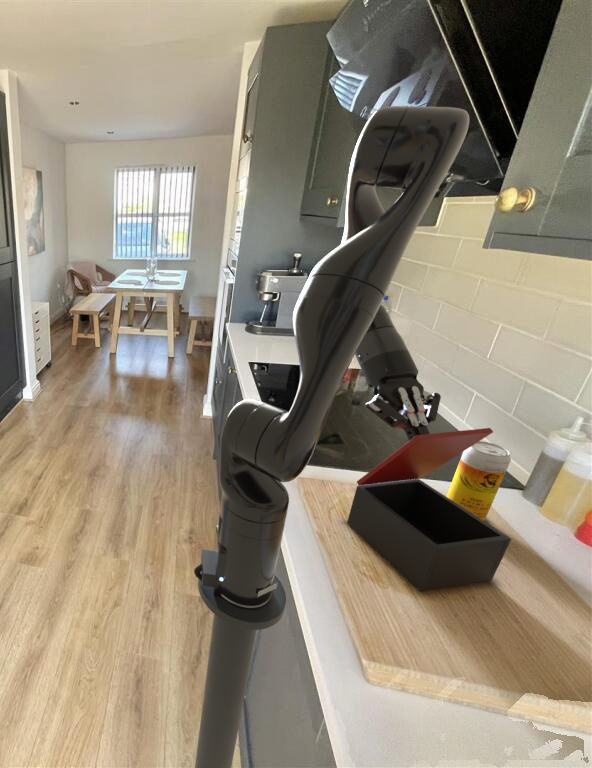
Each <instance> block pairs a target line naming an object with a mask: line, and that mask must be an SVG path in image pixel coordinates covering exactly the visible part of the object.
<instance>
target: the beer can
mask: <svg viewBox="0 0 592 768" xmlns="http://www.w3.org/2000/svg"><path fill="white" fill-rule="evenodd" d="M511 461H512V457H511V452H510V451H509V450H508V449H506V447H503V446H500V445H498V444H495V443H492V442H488V441H483V440H480V441H479V442H477V443H476V444H474V445H472V446H471V447H469V448H468V449H466V450H465V451H463V452H462V454H461V457H460V459H459V462H458V464H457V467H456V470H455V473H454V476H453V477H452V481H451V483H450V486H449V488H448V491H447V493H446V495H445V496H446V497H447V498H449V499H450V500H452V501H454V502H455V503H457V504H458V505H460V506H461V507H463V508H464V509H466V510H467V511H469V512H471V513H472V514H474V515H475V516H477V517H478V518H480V519H481V520H483V521H484V522H485V520H486V518H487V517H488V514H489V512H490V510H491V507H492V505H493V503H494V500H495V498H496V495H497V493H498V491H499V488H500V486H501V484H502V482H503V480H504V477H505V475H506V473H507V470H508V468H509V466H510V463H511Z"/></svg>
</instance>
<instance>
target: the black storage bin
mask: <svg viewBox="0 0 592 768" xmlns="http://www.w3.org/2000/svg"><path fill="white" fill-rule="evenodd" d="M446 496H447V495H444V494H443V493H442V492H440V491H439V490H437V489H435V488H434V487H432V486H430V485H429V484H427V483H426V482H425V481H423V480H422V479H412V480H403V481H394V482H386V483H377V484H368V485H356V488H355V492H354V496H353V499H352V503H351V507H350V511H349V513H348V518H347V522H346V524H347V526H349V527H350V528H351V529H352V530H353V531H354V532H355V533H356V534H358V535H359V536H360V537H361V538H362V539H363V540H364V541H365V542H366V543H367V544H369V546H371V547H372V548H373V549H374V550H375V551H376V553H378V554H379V555H380V556H382V558H384V560H385V561H387V562H388V563H389V564H390V565H391V566H392V567H393V568H394V569H395V570H396V571H397V572H399V573H400V574H401V575H402V576H403V577H404V578H405V579H406V580H407V581H408V582H409V583H410V584H411V585H412V586H414V587H415V588H416V589H417V590H418V591H419V592H420V593H421V592H427V591H434V590H435V591H436V590H440V589H447V588H448V589H449V588H456V587H462V586H470V585H476V584H483V583H491V582H492V581H493V579H494V577H495V574H496V572H497V570H498V568H499V566H500V564H501V563H502V560H503V558H504V556H505V554H506V551H507V549H508V547H509V545H510V543H511V541H512V538H511V537H509V536H508V535H507V534H505V533H503V532H501V531H500V530H499V529H497V528H495V527H494V526H492V525H491V524H489V523H488V522H487V521H485V520H484V521H483V520H481V519H480V518H478V517H477V516H475V515H474V514H472V513H471V512H469V511H467V510H466V509H464V508H463V507H461V506H460V505H458V504H457V503H455V502H454V501H452V500H450V499H449V498H447V497H446Z"/></svg>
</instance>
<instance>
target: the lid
mask: <svg viewBox="0 0 592 768" xmlns="http://www.w3.org/2000/svg"><path fill="white" fill-rule="evenodd" d="M493 433H494V431H493V429H492V428H491V427H485V428H476V429H475V428H474V429H466V430H456V431H446V432H437V433H436V432H435V433H430V434H425V435H417V436H415V437H414V438H413V439H412V440H410V441H409V440H408V441H407V442H406V443H405V444H404V445H402V446H401V447H400V448H398V449H397V450H396V451H394V452H393V453H392V454H390V455H389V456H388V457H387V458H385V459H384V460H383V461H381V462H380V463H379V464H377V465H376V466H375V467H374V468H372V469H371V470H370V471H368V472H367V473H366V474H364V475H363V476H362V477H361V478H359V479H358V480H357V481H356V484H357V486H360V485H369V484H378V483H387V482H396V481H405V480H413V479H420V480H422V478H424V477H426V476H427V475H429V474H430V473H432V472H434V471H435V470H437V469H438V468H440V467H441V466H443V465H444V464H446V463H448V462H449V461H450V460H452V459H453V458H455V457H457V456H458V455H460V454H461V453H463V451H465V450H466V449H468V448H469V447H471V446H472V445H474V444H476V443H477V442H479V441H483V440H484V439H485V438H487V437H489V436H490V435H491V434H493Z"/></svg>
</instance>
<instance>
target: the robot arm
mask: <svg viewBox="0 0 592 768" xmlns="http://www.w3.org/2000/svg"><path fill="white" fill-rule="evenodd" d="M469 126H470V114H469V113H468V111H467V110H466V109H463V108H460V107H452V106H451V107H450V106H422V105H421V106H420V105H419V106H416V105H410V106H408V105H392V106H383V107H381V108H379V109H377V110H376V111H375V112H374V113H372V115H371V116H370V117H369V119H368V120H367V121H366V123H365V125H364V127H363V129H362V131H361V133H360V135H359V137H358V139H357V142H356V145H355V146H354V149H353V150H354V151H353V153H352V156H351V160H350V166H349V170H348V172H349V173H348V179H347V191H346V200H345V202H346V203H345V218H344V219H345V220H344V229H343V235H342V239H341V242H340V245H338V246H337V247H336V248H334V249H333V250H331V251H330V252H329V253H328V254H326V255H325V256H324V257H322V259H321V260H320V261H318V262H317V264H315V266H313V269H312V270H311V272H310V274H309V276H308V278H307V280H306V282H305V284H304V287H303V289H302V291H301V293H300V294H299V296H298V300H297V301H296V304H295V306H294V310H293V313H292V329H293V336H294V340H295V346H296V352H297V356H298V362H299V382H298V386H297V390H296V394H295V397H294V399H293V402H292V405H291V406H290V409H289V411H288V410H286V409H283V408H282V407H281V408H280V407H278V406H275V405H273V404H270V403H267V402H265V401H262V400H258V399H255V398H245V399H243V400H241V401H239V402H238V403H236V404H235V405H234V406H233V407H232V409H231V410H230V411H229V413H228V415H227V416H226V419H225V420H224V424H223V428H222V433H221V438H220V452H219V453H220V455H219V476H218V479H219V480H218V481H219V486H220V489H221V500H220V506H219V507H220V509H219V517H218V525H215V530H214V537H213V547H212V549H206V548H205V549H204V548H202V549H201V555H200V564H198V565H197V566H195V568H194V570H193V573H194V576H195V577H196V578H197V580H198V579H199V580H201V581H202V585H203V586H210V587H213V594H214V596H218V597H221V598H222V599H224V600H225V601H226V602H228V603H229V604H231V605H233V606H235V607H238V608H242V609H247V610H255V609H260V608H262V607H264V606H266V605H267V604H268V603H269V601H270V599H271V595H272V590H274V589H276V588H277V583H276V584H274V585H273V581H274V576H275V575H276V571H277V566H278V562H279V561H278V560H279V555H280V550H281V546H282V540H283V535H284V529H285V525H286V519H287V516H288V509H289V505H290V496H289V495H290V494H289V492H288V490H287V487H286V486H285V485H284V483H289V482H292V481H293V480H295V479H296V478H298V477H299V476H300V475H301V474H302V472H303V471H304V470H305V468H306V467H307V465H308V463H309V462H310V460H311V459H312V456H313V455H314V452H315V451H316V448H317V445H318V442H319V440H320V438H321V435H322V432H323V430H324V428H325V425H326V422H327V420H328V417H329V414H330V413H331V410H332V407H333V404H334V401H335V399H336V397H337V394H338V391H339V389H340V387H341V384H342V382H343V379H344V378H345V376H346V374H347V371H348V370H349V367H350V365H351V364H352V362H353V359H354V357H355V358H356V360H357V362H358V364H359V368H360V369H361V371H362V374H363V376H364V379H365V381H366V383H367V385H368V387H370V388H372V395H373V397H372V399H371V400H370V401H368V402H366V403H365V407H366V408H367V410H369V411H370V412H371V413H372V414H374V415H375V416H377V418H379V419H380V420H382V421H383V422H384V423H386V424H387V425H388V426H390V427H391V428H392V429H394V428H398V429H401V430H402V431H404V432H405V435H406V436H407V439H408V442H409V441H410V440H412V439H413V438H414V437H415V436H417V435H425V434H431V433H430V430H429V429H428V425H429V424H430V423H432V422H435V421H436V420H437V415H438V411H439V407H440V404H441V403H440V402H441V399H442V396H441V394H440V393H438V392H434V393H430V392H429V391H427V390H425V388H424V386H423V385H422V383H420V382H419V380H418V379H417V378H418V374H419V369H418V367H417V364H416V363H415V361H414V359H413V356H412V355H411V353H410V351H409V349H408V347H407V345H406V343H405V341H404V339H403V337H402V336H401V335H400V333H399V332H398V330H397V329H396V326H395V325H394V322H393V320H392V318H391V316H390V314H389V312H388V310H387V309H386V307H385V306H384V305H383V304H382V303H383V301H384V299H385V296H386V295H387V292H388V289H389V288H390V286H391V283H392V281H393V279H394V277H395V274H396V272H397V269H398V267H399V265H400V264H401V261H402V258H403V256H404V254H405V252H406V250H407V248H408V245H409V243H410V241H411V239H412V238H413V235H414V233H415V231H416V230H417V228H418V226H419V224H420V222H421V221H422V220H423V217H424V215H425V213H426V212H427V210H428V208H429V207H430V204H431V202H432V201H433V199H434V198H435V196H436V194H437V192H438V190H439V188H440V186H441V185H442V184H443V181H444V180H445V178H446V176H447V174H448V173H449V171H450V169H451V168H452V166H453V164H454V162H455V160H456V158H457V156H458V155H459V152H460V150H461V148H462V146H463V144H464V142H465V139H466V136H467V133H468V132H469V131H468V130H469ZM377 187H378V188H383V189H385V188H386V189H395V190H404V191H403V192H402V193H401V195H400V196H399V197H398V198H397V199H396V200H395V201H394V203H392V204H391V206H390V207H389V208H388V209H387V210H385V208H384V206H383V205H382V203H381V202H382V201H381V200H380V198H379V195H378V192H377ZM201 571H202V574H201V573H200V572H201Z"/></svg>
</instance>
